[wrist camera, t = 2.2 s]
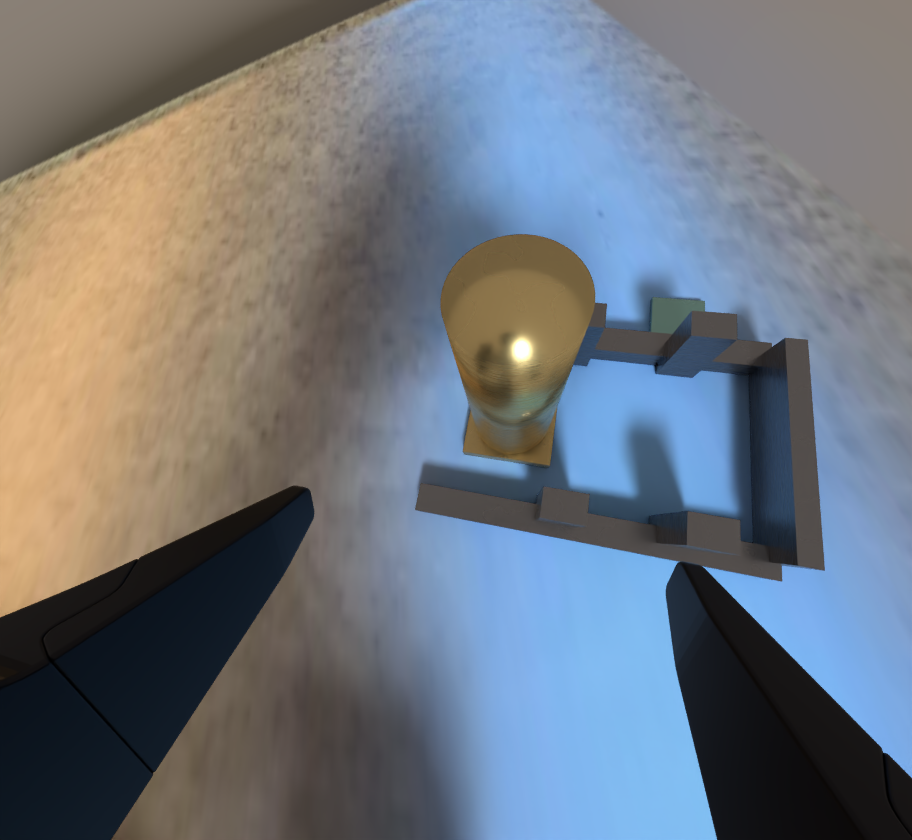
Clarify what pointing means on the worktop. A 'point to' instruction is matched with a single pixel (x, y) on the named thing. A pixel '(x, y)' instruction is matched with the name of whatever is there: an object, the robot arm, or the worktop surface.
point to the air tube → (516, 340)
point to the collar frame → (689, 533)
